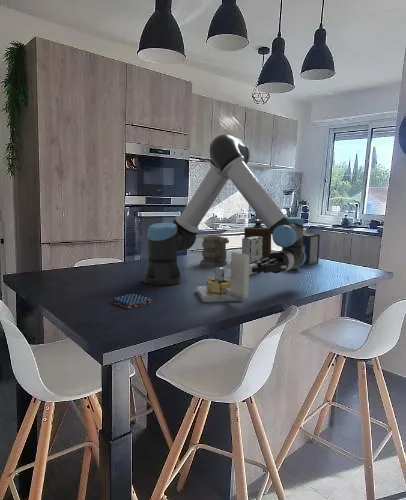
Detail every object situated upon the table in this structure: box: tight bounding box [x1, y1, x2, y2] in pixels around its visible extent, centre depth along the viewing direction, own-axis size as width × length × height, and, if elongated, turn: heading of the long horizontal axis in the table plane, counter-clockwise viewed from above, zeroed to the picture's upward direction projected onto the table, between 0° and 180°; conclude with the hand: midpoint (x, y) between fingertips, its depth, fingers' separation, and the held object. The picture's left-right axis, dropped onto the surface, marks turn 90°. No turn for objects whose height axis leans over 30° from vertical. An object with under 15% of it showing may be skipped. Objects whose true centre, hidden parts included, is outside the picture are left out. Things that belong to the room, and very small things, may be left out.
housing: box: [195, 266, 241, 303], centre depth 129 cm, size 14×14×10 cm
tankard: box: [200, 235, 230, 268], centre depth 187 cm, size 20×13×15 cm, turn 25°
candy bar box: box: [241, 236, 263, 276], centre depth 170 cm, size 11×5×16 cm, turn 143°
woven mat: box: [109, 292, 154, 310], centre depth 121 cm, size 10×11×2 cm
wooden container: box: [243, 220, 272, 259], centre depth 202 cm, size 15×15×22 cm
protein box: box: [302, 232, 321, 266], centre depth 201 cm, size 10×15×16 cm
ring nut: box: [206, 251, 250, 303], centre depth 122 cm, size 22×8×15 cm, turn 24°
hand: (243, 271), depth 116 cm, fingers closed
